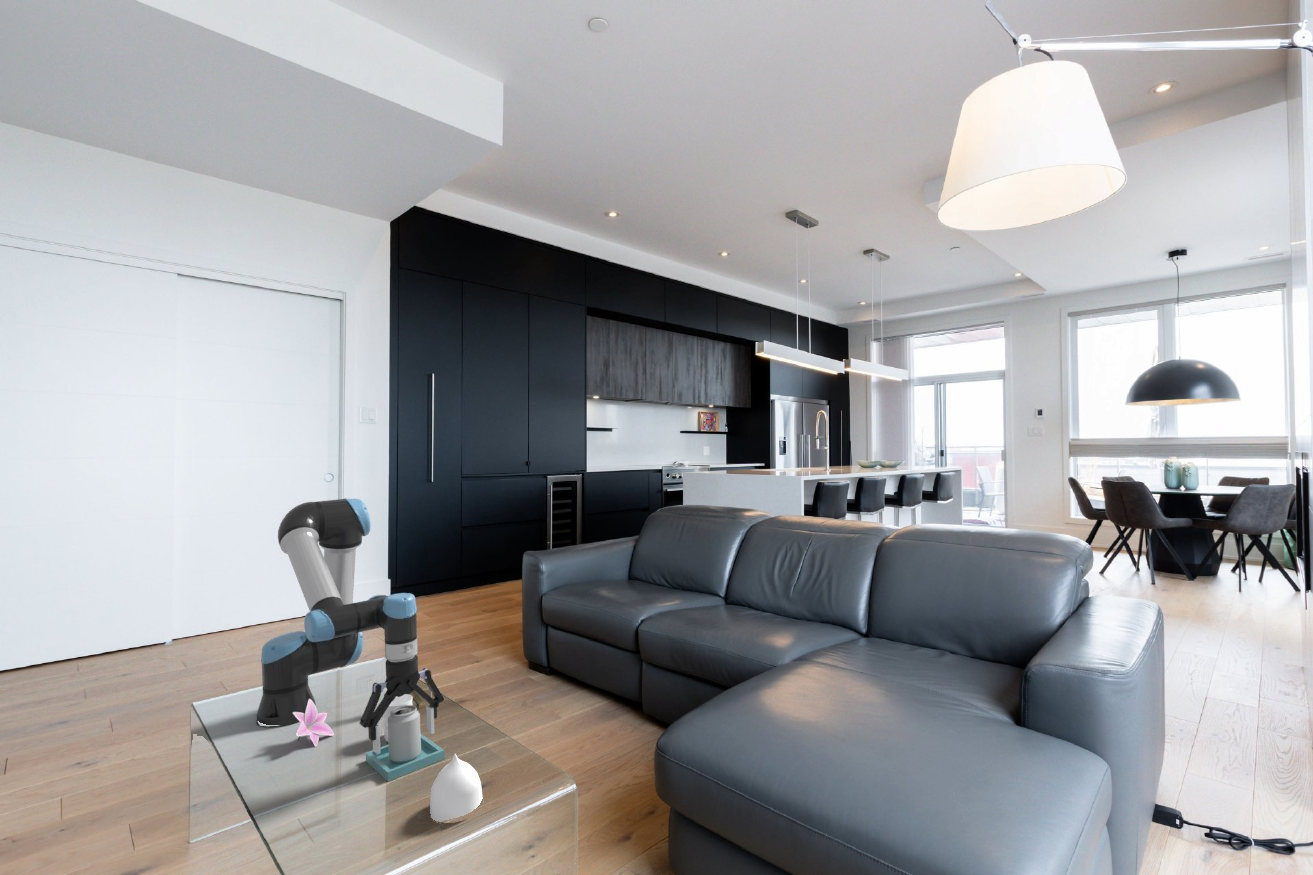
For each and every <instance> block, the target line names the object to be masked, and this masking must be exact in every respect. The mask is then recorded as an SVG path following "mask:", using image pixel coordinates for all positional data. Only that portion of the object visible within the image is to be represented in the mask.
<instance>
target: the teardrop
mask: <svg viewBox="0 0 1313 875" xmlns="http://www.w3.org/2000/svg"><path fill="white" fill-rule="evenodd" d="M483 798H484V797H483V789H482V782H481V779H480V777H479V774H478V771H477V770H476V768H474V767H473V766H472V765H471V764H470V763H468V762H467V761H464V760H461V759H460V758H458V756H457V754H456V753H454V754H453V757H452V760H450V761H449V763H447V764H446V765H445V766H444V767H443V768H442V769H441V770H440V771H439V773H438V774H437V775H436V778H435V779H434V781H433V783H432V785H431V789H430V800H429V801H430V802H429V805H430V806H429V814H431V815H430V819H431V818H432V819H433V820H432V819H431V820H432V821H434V820H435V821H439V822H442V821H444V820H449V819H453V818H458V817H460V816H464V815H466V814H468V813H470V812H472V811H473V810H474V809H476V808H477V807H478V806H479V805H480V803H481V801H482V799H483ZM483 800H484V799H483ZM435 821H434V822H435Z"/></svg>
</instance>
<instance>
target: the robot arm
mask: <svg viewBox="0 0 1313 875" xmlns="http://www.w3.org/2000/svg"><path fill="white" fill-rule="evenodd" d="M370 518H371V517H370V514H369V510H368V508H367V505H366V504H365V503H364V502H363V501H362V500H361V499H360V498H346V497H344V498H342V499H341V498H339V499H331V500H330V499H328V500H320V501H307V502H303V503H300V504H298V505H296V506H295V507H293V508H292V509H291V510H289V511H288V512H287V513H286V514H285V515H284V517H283V518H282V520H281V522H280V525H279V526H278V530H277V541H278V545H279V547H280V549H281V551H282V552H283V553H284V554H286V555H288V556H287V557H288V559H289V561H290V564H291V566H292V568H293V572H294V574H295V576H296V578H297V582H298V585H299V587H300V590H301V592H302V594H303V597H304V600H305V602H306V605H307V607H308V610H309V611H308V612H306V614H305V615H304V620H303V623H304V624H303V626H304V627H303V628H304V630H305V631H303V630H300V631H299V630H297V631H294V632H293V631H291V632H286V633H284V634H280V635H277V636H275V637H273V638H271V639H269V640H268V641H267V642H265V643H264V644H263V646H262V648H261V657H260V663H261V678H262V695H261V699H260V702H259V706H258V707H257V708H258V709H257V711H256V714H255V715H256V717H255V718H256V719H257V720H256V722H257V721H259V722H260V723H263V724H266V725H284V726H288V725H287V724H289V725H292V724H296V723H298V722H299V723H300V721H299V720H298V719H297V718H296V717H295V715H294V714H293V712H301V713H304V714H305V712H306V708H307V704H308V700H309V699H311V700H312V701H313V703H314V704H315V706H317V705H316V699H315V697H314V695H313V693H312V691H311V688H310V686H309V676H311V675H315V674H319V673H322V672H326V671H330V670H334V669H337V668H344V667H346V666H348V665H351V664H354V663H356V662H357V661H358V660H359V659H360V657H361V655H362V652H363V648H364V638H363V637H364V634H363V632H367V631H371V630H375V629H379V628H381V629H384V657H385V659H386V660H385V680H384V682H379V683H378V682H374V683H373V684H372V689H371V690H372V692H371V693H370V696H369V698H368V701H367V703H366V706H365V708H364V711H363V713H362V716H361V719H360V721H359V725H360V726H361V727H363V728H365V729H366V728H368V729H367V730H368V739H369V740H370V741H371V742H372V750H373V751H374V752H375V753H376V754H380V753H381V751H380V747H381V728H380V725H379V722H380V720H382V716H383V714H384V713H385V711H386V710H387V708H388V706H389V705H390V703H391V702H392V701H393V700H394V699H395V697H396V696H397V697H400V696H403V695H404V694H410V693H411V692H412V691H413V690H414V691H415V692H416V693H417V694H418V695H419V696H420V697H421V699H422V700H423V701H424V702H425V701H426V703H427V705H428V706H426V707H425V709H426V711H425V712H426V731H427V732H428V733H429V734H431V735H434V734H435V720H436V719H437V717H438V707H439V705H440V703H443V702H444V701H445V698H444V696H443V694H442V693H441V690H439V688H438V686H437V684H436V682H435V681H434V680H433V677H432V672H431V670H430V669H428V668H426V667H424V668H422V669H421V670H420V671H419V657H418V655H417V654H418V651H419V650H418V628H417V625H418V624H417V622H418V620H417V609H418V607H417V603H416V597H415V595H414V594H413V593H410V592H409V593H407V592H400V593H394V594H390V595H385V594H376V595H372V596H371V597H370V598H369V599H367V600H363V601H358V602H354V587H355V571H356V569H355V568H356V552H357V548H358V547H360V546H361V545H362V543H363V537H366V536H368V535H369V534H370V531H371V519H370ZM321 548H322V549H323V550H324V551H323V552H322V550H321ZM420 679H421V680H424V682H425V684H426V685H427V687H428V689H429V690H430V692H431V694H432V695H433V697H434V698H432V696H430V695H429V694H428V693H427V692H425V690H423V689H422V688H421V687H420V686H419V685H418V682H419V680H420ZM384 689H386V691H385V693H384V694H383V698H382V699H381V695H382V693H383V692H384ZM391 693H392V694H391ZM380 699H381V701H380V702H379V700H380ZM378 703H379V704H378ZM377 705H378V706H377ZM291 723H292V724H291Z"/></svg>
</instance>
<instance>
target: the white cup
mask: <svg viewBox="0 0 1313 875" xmlns="http://www.w3.org/2000/svg"><path fill="white" fill-rule="evenodd" d="M405 705H413V706H414V704H413V697H412V696H411V695H408V694H404V695H403V696H400V697H397V696H396V697H395V699H394V700H393V701H392V702H391V703H390V705H389V706H388V708H387V710H386V711H385V713H384V714H383V716H382V717H381V721H382V726H383V735H384V736H383V737H384V740H385V742H387V743H388V717H389V716H390V715H391V714H390V712H391V711H392V710H393V709H395V708H397V707H400V706H405Z"/></svg>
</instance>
